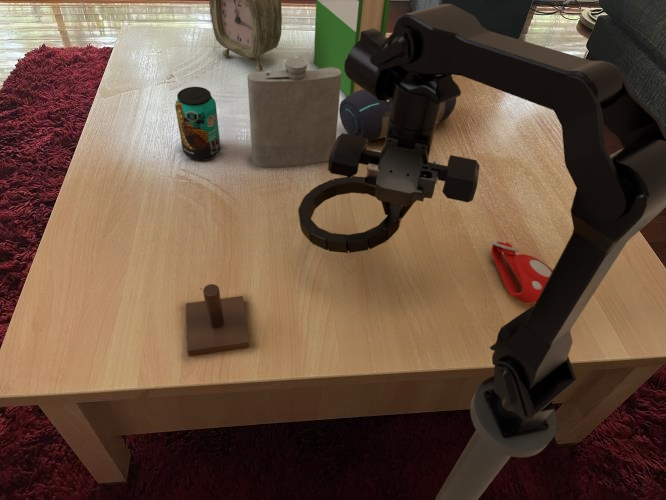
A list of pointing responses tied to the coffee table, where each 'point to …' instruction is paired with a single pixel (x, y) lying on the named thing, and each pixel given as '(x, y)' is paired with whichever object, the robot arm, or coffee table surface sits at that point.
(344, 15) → the hardback book
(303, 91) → the hip flask
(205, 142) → the beverage can
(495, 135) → the coffee table surface
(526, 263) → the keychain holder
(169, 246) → the coffee table surface
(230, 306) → the post
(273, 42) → the tabletop clock
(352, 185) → the ring
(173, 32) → the coffee table surface
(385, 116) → the portable speaker
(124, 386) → the coffee table surface
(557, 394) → the robot arm
